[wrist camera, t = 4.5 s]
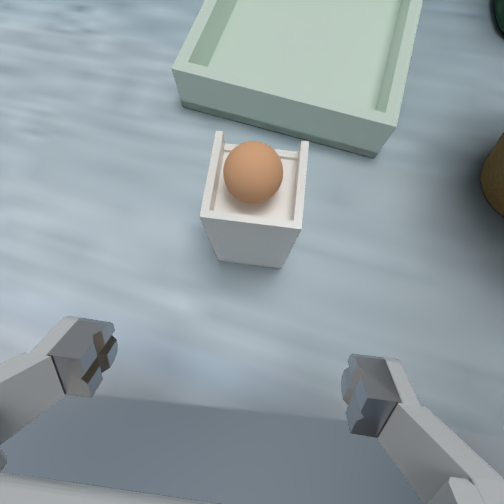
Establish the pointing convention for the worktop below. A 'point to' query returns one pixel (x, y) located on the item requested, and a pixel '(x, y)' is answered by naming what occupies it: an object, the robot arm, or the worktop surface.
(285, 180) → the cup post
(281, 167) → the ball
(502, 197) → the plant pot
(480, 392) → the worktop surface
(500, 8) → the coffee jar
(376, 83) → the tray
